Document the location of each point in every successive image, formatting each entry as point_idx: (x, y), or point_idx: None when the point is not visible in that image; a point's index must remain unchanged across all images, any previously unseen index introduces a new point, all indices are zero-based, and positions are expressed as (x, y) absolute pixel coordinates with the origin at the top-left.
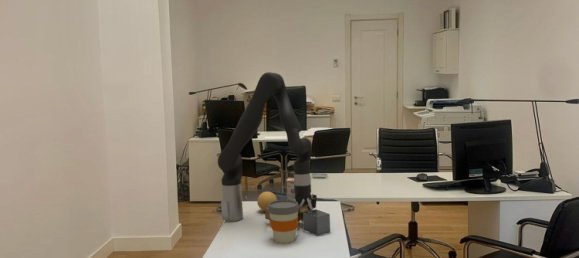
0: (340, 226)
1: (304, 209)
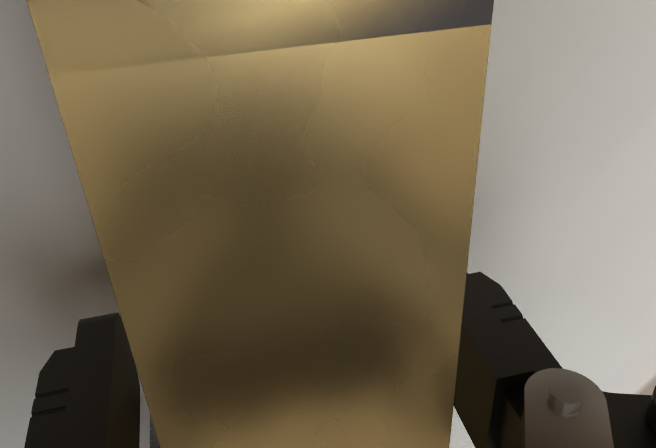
0: None
1: (402, 434)
